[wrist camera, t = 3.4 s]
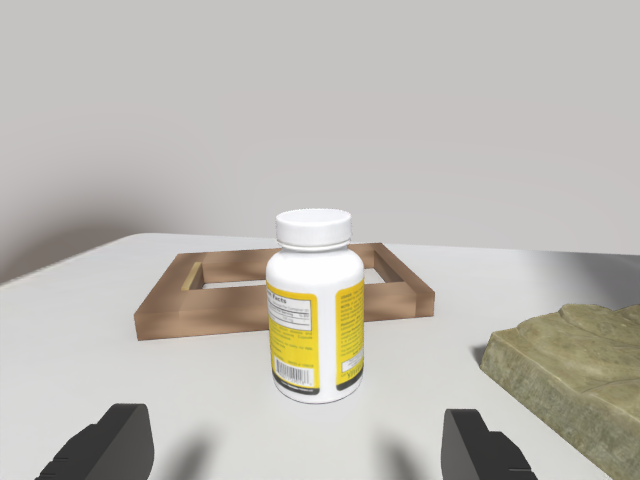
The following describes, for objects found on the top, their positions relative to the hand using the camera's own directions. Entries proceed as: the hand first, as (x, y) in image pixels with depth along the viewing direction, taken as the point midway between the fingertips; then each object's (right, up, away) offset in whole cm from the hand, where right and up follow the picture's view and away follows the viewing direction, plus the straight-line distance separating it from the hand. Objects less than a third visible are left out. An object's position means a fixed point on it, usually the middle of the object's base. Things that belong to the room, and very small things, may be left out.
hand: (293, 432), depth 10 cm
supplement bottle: (+1, -3, +12) cm, 13 cm away
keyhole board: (-2, 0, +24) cm, 25 cm away
